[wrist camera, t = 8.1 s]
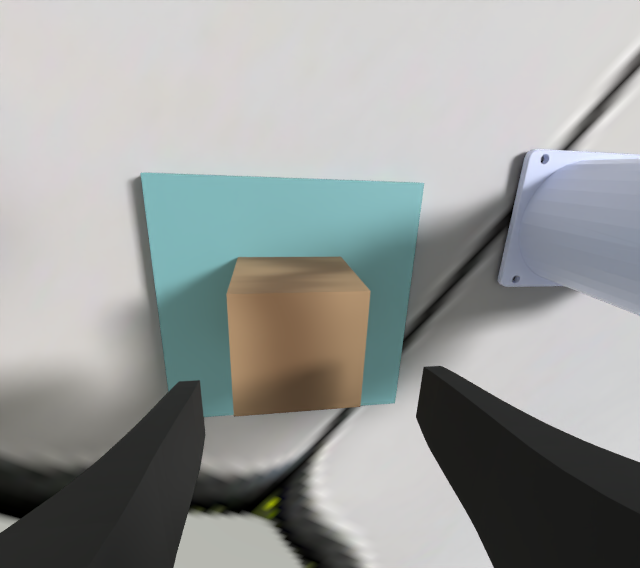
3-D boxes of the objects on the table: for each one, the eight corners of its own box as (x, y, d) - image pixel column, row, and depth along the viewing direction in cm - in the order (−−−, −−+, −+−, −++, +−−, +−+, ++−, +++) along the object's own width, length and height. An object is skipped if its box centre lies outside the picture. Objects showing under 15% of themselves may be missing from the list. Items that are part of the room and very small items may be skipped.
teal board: (417, 182, 18) (424, 183, 18) (390, 395, 23) (394, 403, 22) (146, 172, 16) (140, 172, 15) (175, 410, 21) (172, 419, 20)
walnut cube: (340, 256, 18) (370, 291, 13) (336, 345, 20) (360, 406, 15) (237, 257, 17) (226, 294, 12) (242, 350, 19) (233, 416, 14)
